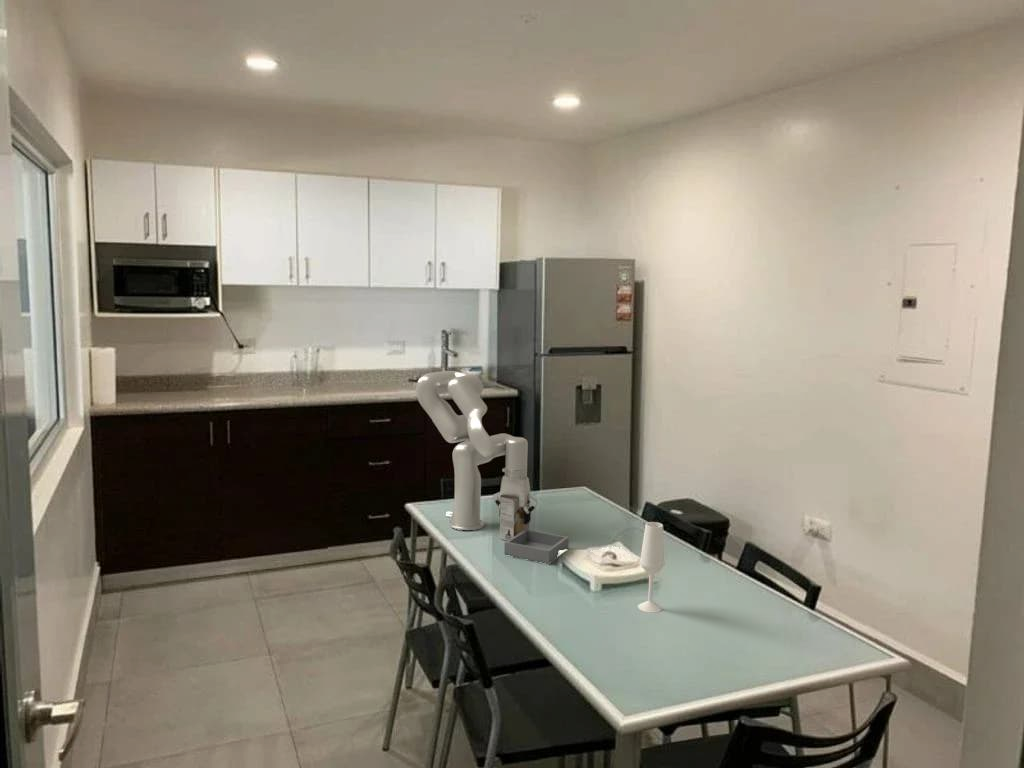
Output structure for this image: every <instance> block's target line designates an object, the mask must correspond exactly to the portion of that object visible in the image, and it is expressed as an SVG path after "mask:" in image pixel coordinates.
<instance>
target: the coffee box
mask: <svg viewBox="0 0 1024 768" xmlns="http://www.w3.org/2000/svg"><path fill="white" fill-rule="evenodd" d="M529 505H530V506H531V503H530V504H529ZM499 510H500V516H499V524H500V525H499V540H500V539H503V540H502V541H504V540H507V541H508V540H509V539H511V538H512V537H514V536H516V535H517V534H519V533H521V532H522V531H524V530H525V529H529V530H530V522H529V523H528V524H524V513H526V512H525V510H524V509H523V508H520V507H519V497H515V496H509V495H501V502H500V509H499Z"/></svg>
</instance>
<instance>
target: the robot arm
mask: <svg viewBox="0 0 1024 768" xmlns="http://www.w3.org/2000/svg"><path fill="white" fill-rule="evenodd" d="M415 391H416V392H415V393H416V397H417V400H418V403H419V404H420V407H422V409H423V410H424V411H425V412H426V413H427V415H428V416H429V418H430V419H431V420H432V423H433V425H435V427H436V428H437V430H438V432H439V433H440V434H441V436H442V437H443V439H444V440H445V441H446V442H447V443H449V444H455V443H458V444H457V445H455V447H454V448H453V451H452V464H453V469H454V471H453V472H454V502H453V503H454V505H453V507H454V508H453V509H454V510H453V511H452V510H451V511H450V510H447V511H446V513H445V518H446V519H447V518H448V519H451V520H450V522H449V526H450V528H451V529H453V528H454V530H456V529H457V530H456V531H462V530H473V531H478V530H481V529H483V528H484V527H485V522H484V520H482V519H481V500H482V498H481V495H482V494H481V492H482V491H481V489H482V477H481V473H480V470H479V468H478V466H479V465H483V464H486V463H489V462H491V461H492V460H493V459H494V458H497V457H501V456H502V457H503V456H505V467H502V469H501V471H502V472H503V473H504V475H503V476H502V478H501V483H500V491H498V492H496V493H494V494H492V497H493V499H494V502H495V504H496V505H497V507H498V509H499V511H498V512H499V515H498V516H499V517H500V502H501V495H509V496H515V497H519V507H520V508H523V509H524V510H525V512H526V513H524V524H528V523H529V524H530V523H531V516H532V511H534V509H536V507H538V504H539V501H538V500H537V499H535V497H534V496H532V495H531V486H530V479H529V477H528V452H529V451H528V450H529V449H528V447H529V445H528V444H529V443H528V440H527V439H526V438H524V437H521V436H513V435H511V434H508V433H498V434H494V435H493V434H492V435H489V434H488V432H487V431H486V430H485V428H484V425H483V422H482V420H483V416H484V415H485V414H486V413H487V411H488V406H487V404H486V403H485V402H484V401H483V399H482V397H481V396H480V395H481V394H482V393H483V391H484V384H483V381H482V380H481V378H480V377H478V375H476V374H472V373H468V372H467V373H466V372H461V371H455V370H443V371H435V372H429V373H426V374H423V375H421V377H420V378H419V379H418V380H417V383H416V387H415ZM446 394H449V395H450V397H451V399H452V400H453V402H454V403H455V404H456V406H457V407H458V409H459V410H460V411H461V413H462V414H461V415H460V414H459V415H458V414H457V413H456V412H455V411H454V409H453V408H452V406H451V405H450V404H449V403H448V401H447V400H445V399H444V398H442V397H441V396H440V395H446ZM531 503H532V504H531ZM529 504H530V505H529ZM477 529H478V530H477Z"/></svg>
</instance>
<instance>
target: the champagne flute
mask: <svg viewBox="0 0 1024 768" xmlns="http://www.w3.org/2000/svg"><path fill="white" fill-rule="evenodd" d="M644 525H645V526H644V531H643V532H644V533H643V539H642V546H641V547H642V548H641V554H640V559H639V560H640V561H639V562H640V563H639V564H640V565H641V568H642V569H643V570H644V571H645V572H646V574H648V576H649V578H648V592H647V593H648V595H647V596H648V597H647V600H646V601H643V602H642V603H639V604H638V605H637V608H638V609H639V610H641V611H643V612H644V613H659V612H661V611H662V610H663V608H662V606H661V605H660V604H658V603H656V602H655V601H653V599H654V598H653V594H654V593H653V592H654V578H655V577H654V576H655V575H656V574H658V573H659V572H660V571H662V569H664V566H665V563H666V562H665V544H664V539H665V538H664V525H663V524H662V523H661V522H657V521H656V522H655V521H649V522H648V521H647V522H646V523H645V524H644Z"/></svg>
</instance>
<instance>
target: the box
mask: <svg viewBox="0 0 1024 768" xmlns="http://www.w3.org/2000/svg"><path fill="white" fill-rule="evenodd" d="M569 539H570V538H569V536H565V535H559V534H553V533H549V532H544V531H537V530H534V529H530V528H529V529H525V530H524V531H522V532H521V533H519V534H517V535H516V536H514V537H512V538H511V539H509V540H508V541H505V542H504V549H503V550H504V552H503V554H505V555H510V556H513V557H512V558H514V557H517V558H516V559H518V558H522V559H521V560H523V559H528V560H533V561H537V562H536V563H538V562H542V563H546V564H545V565H547V564H549V563H550V562H552V561H553V560H554V559H555V558H557V555H558V551H559V550H564V549H568V550H569V544H570V543H569ZM557 559H558V558H557ZM528 560H527V561H528ZM533 561H532V562H533ZM554 561H555V560H554ZM554 561H553V562H554ZM553 562H552V563H553ZM542 563H541V564H542ZM550 564H551V563H550ZM550 564H549V565H550Z"/></svg>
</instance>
